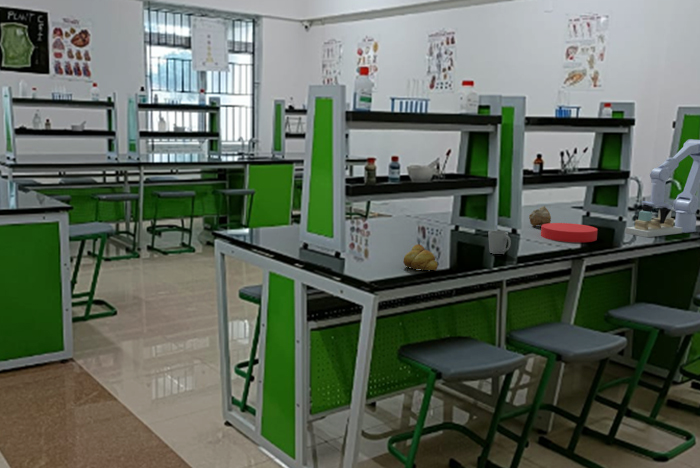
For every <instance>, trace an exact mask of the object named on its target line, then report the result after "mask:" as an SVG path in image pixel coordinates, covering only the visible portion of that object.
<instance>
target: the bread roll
mask: <svg viewBox="0 0 700 468" xmlns="http://www.w3.org/2000/svg"><path fill="white" fill-rule="evenodd" d="M402 263H403V264H404V266H405V267H406V266H407V267H411V268H410V269H412V268H413V269H412V270H414V269H421V270H422V271H423V270H434V271H436V270H437V269H438V267H439V266H438V265H439V264H438V262H437V260H436V257H435V255H434V253H433V252H432V251H430V250H428V249H425V247H424V246H423V245H422V244H420V243H418V244H415V245H413V247H411V250H410V251H409V252H407V253H406V254H405V255H404V257H403V262H402ZM407 267H406V268H407Z"/></svg>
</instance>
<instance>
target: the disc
mask: <svg viewBox="0 0 700 468" xmlns="http://www.w3.org/2000/svg"><path fill="white" fill-rule="evenodd" d="M540 226H541V225H540ZM540 229H541V230H540V236H541V238H544V239H548V240H550V239H551V241H558V242H564V243H565V242H566V243H592V242H595V241H597V239H598V228H597V227H595V226H591V225H587V224H586V225H585V224H581V223H580V224H578V223H572V222H571V223H568V222H567V223H566V222H550V223H548V224H543V225H542V226H541V228H540Z"/></svg>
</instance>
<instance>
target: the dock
mask: <svg viewBox="0 0 700 468" xmlns="http://www.w3.org/2000/svg"><path fill="white" fill-rule="evenodd" d="M624 229H625V230H624V233H625V234H628V235H634V236H639V237H643V238H644V237H645V238H651V237H659V236H661V237H662V236H668V235H678V234H683V232H682V229H683V228H681V227H675V225H673V227H664V226H661V228H660V229H655V228H650V227H648V230H640V229H635V226H630V227H625V228H624Z"/></svg>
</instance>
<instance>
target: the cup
mask: <svg viewBox="0 0 700 468" xmlns="http://www.w3.org/2000/svg"><path fill="white" fill-rule="evenodd" d="M507 242H508V243H507ZM511 243H512V240H511V237H510V236H509V232H508V231H505V230H504V231H503V230H489V231H488V246H489V247H488V250H489V254H490V253H494V254H503V255H505V253H506V252H508V251H509V250H510V249H511V246H512V244H511Z"/></svg>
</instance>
